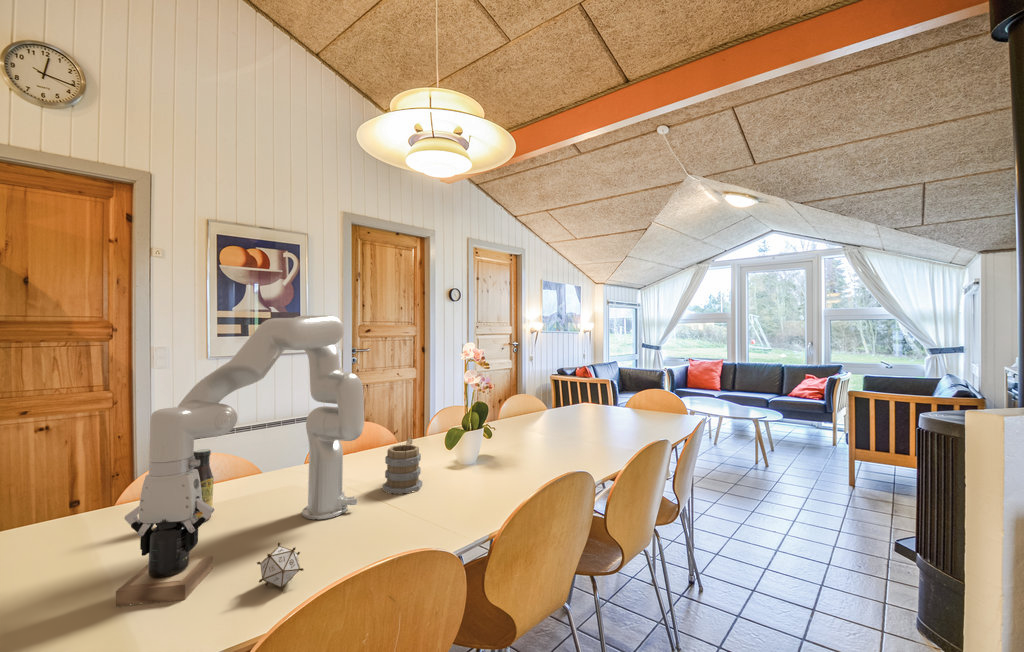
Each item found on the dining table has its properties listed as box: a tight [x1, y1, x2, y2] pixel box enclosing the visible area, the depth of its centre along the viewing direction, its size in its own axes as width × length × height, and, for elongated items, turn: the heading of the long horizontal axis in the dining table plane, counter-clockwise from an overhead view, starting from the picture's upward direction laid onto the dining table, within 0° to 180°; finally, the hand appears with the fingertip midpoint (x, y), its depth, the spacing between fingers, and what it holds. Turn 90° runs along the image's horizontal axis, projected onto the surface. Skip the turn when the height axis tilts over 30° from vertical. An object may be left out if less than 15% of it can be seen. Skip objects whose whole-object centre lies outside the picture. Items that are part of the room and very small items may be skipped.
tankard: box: [382, 437, 423, 494], centre depth 158 cm, size 20×13×15 cm, turn 179°
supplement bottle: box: [147, 519, 190, 578], centre depth 93 cm, size 7×7×12 cm
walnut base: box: [115, 555, 214, 607], centre depth 93 cm, size 12×12×3 cm
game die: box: [256, 542, 305, 593], centre depth 93 cm, size 9×8×10 cm
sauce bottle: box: [193, 448, 215, 522], centre depth 126 cm, size 6×6×20 cm
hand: (169, 550), depth 93 cm, fingers open, 7 cm apart
